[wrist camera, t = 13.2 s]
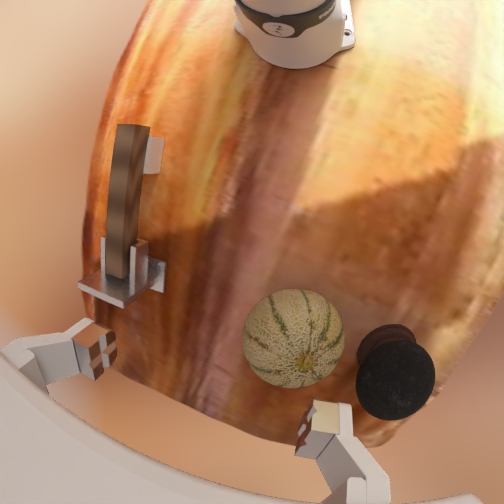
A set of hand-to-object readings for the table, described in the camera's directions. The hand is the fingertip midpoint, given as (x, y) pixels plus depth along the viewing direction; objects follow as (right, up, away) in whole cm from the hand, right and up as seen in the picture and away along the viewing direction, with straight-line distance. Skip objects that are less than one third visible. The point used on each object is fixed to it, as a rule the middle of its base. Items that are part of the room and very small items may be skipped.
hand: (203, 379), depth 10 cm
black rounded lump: (+26, -13, +34) cm, 45 cm away
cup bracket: (-19, +4, +40) cm, 44 cm away
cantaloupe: (+9, -6, +36) cm, 38 cm away
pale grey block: (-15, +21, +34) cm, 43 cm away
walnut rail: (-18, +13, +32) cm, 39 cm away
